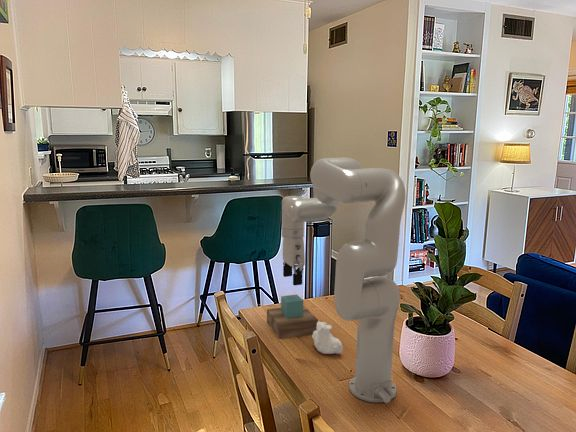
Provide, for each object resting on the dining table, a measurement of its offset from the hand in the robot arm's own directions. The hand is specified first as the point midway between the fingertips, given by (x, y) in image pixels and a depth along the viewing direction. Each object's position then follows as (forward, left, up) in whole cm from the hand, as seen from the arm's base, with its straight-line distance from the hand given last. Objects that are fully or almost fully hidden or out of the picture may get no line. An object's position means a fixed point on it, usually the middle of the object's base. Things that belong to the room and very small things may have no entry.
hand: (292, 280), depth 159 cm
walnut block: (0, 0, -18) cm, 18 cm away
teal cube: (0, 0, -13) cm, 13 cm away
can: (+14, -43, -18) cm, 49 cm away
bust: (-20, -4, -18) cm, 27 cm away
